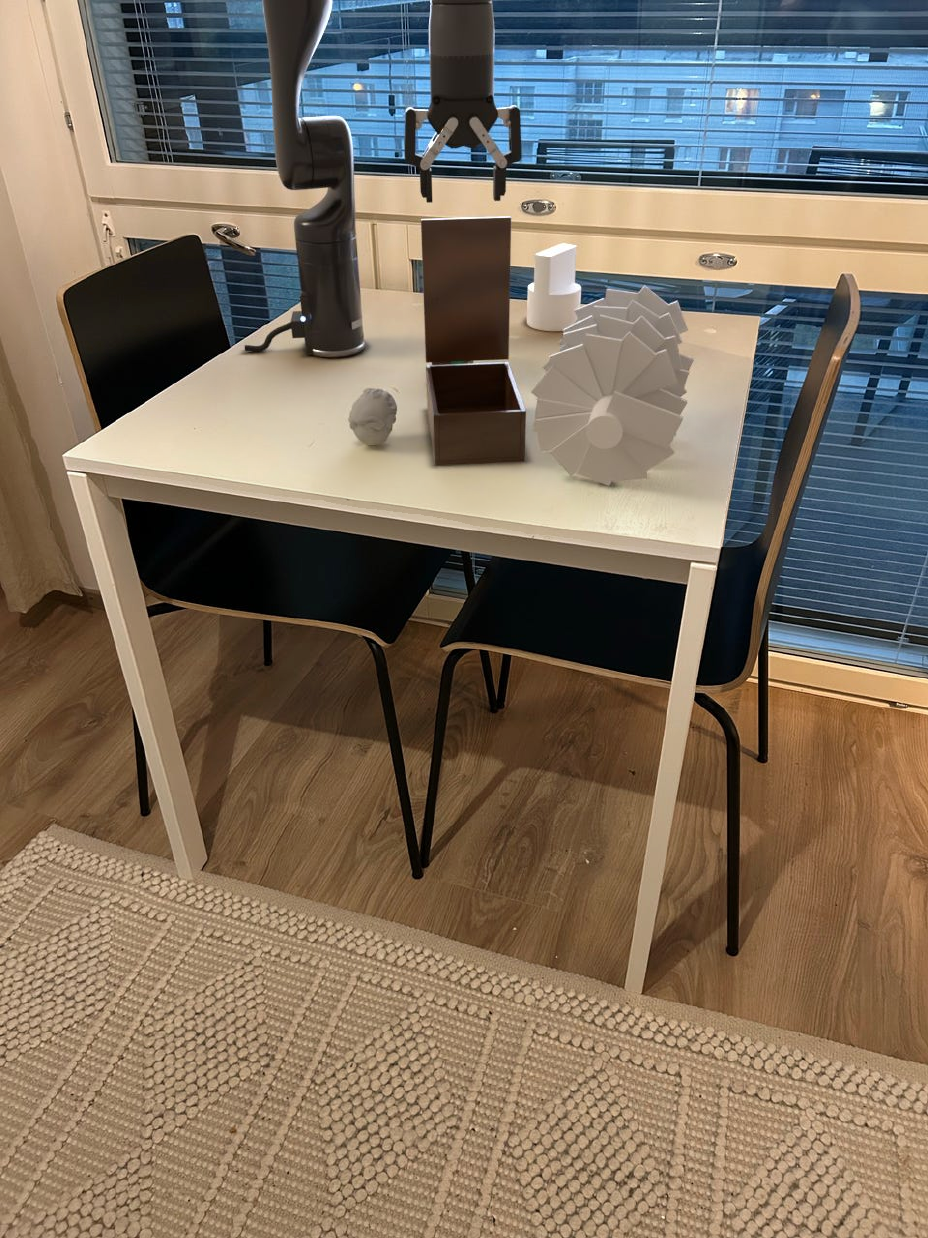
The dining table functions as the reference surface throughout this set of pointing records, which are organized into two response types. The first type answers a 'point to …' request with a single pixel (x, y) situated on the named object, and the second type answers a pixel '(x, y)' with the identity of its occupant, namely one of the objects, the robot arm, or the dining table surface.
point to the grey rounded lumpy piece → (373, 416)
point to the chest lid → (466, 288)
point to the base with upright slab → (554, 289)
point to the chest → (475, 414)
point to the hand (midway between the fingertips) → (463, 200)
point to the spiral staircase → (614, 388)
